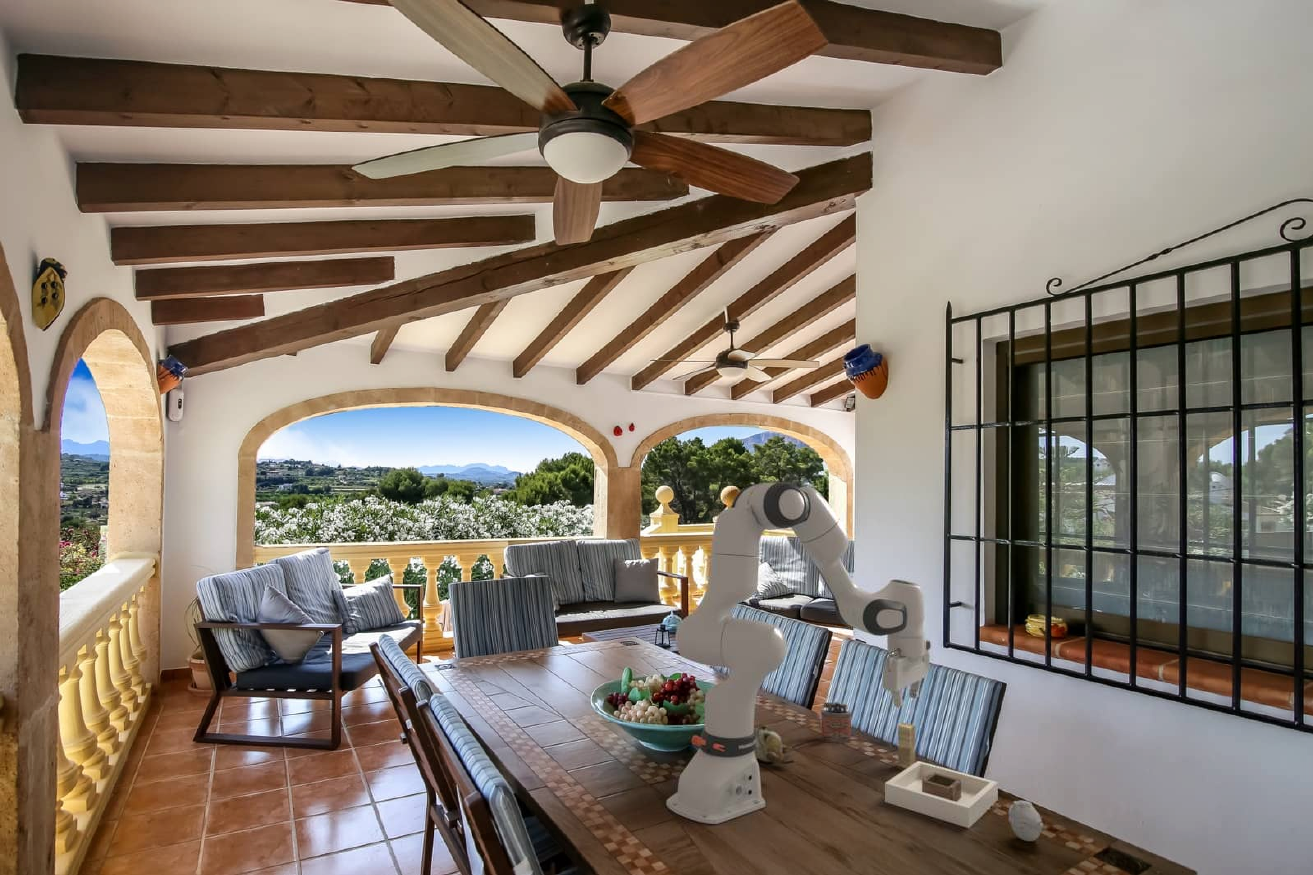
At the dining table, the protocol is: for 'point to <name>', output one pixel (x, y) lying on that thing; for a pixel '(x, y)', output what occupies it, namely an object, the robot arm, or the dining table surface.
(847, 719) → the lighter
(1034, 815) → the grey rounded stone
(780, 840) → the dining table surface
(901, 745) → the tan wooden block
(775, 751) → the ceramic sculpture
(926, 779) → the tray
